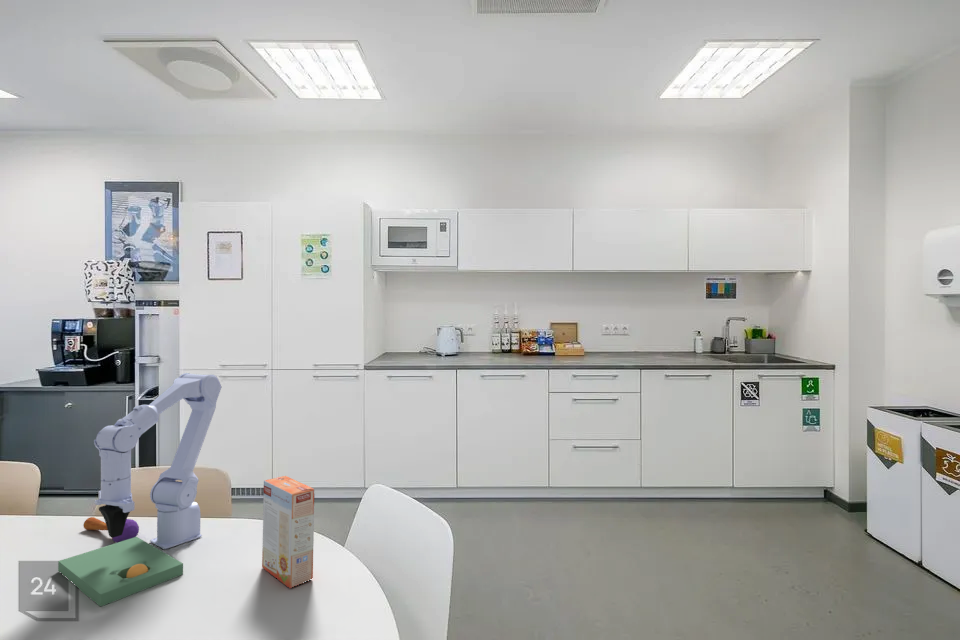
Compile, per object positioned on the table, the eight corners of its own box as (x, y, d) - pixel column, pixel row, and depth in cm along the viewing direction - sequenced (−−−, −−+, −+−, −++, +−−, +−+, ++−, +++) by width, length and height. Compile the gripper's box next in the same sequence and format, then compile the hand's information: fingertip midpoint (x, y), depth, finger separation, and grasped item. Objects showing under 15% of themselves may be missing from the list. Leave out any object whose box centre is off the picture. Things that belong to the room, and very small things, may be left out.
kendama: (104, 510, 143) (145, 518, 134) (100, 533, 142) (141, 542, 132) (80, 513, 138) (121, 522, 128) (75, 536, 136) (117, 547, 127)
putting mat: (136, 546, 129) (136, 536, 129) (183, 574, 116) (183, 563, 116) (58, 571, 116) (58, 561, 116) (100, 606, 102) (100, 594, 102)
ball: (144, 565, 115) (150, 559, 113) (145, 583, 113) (151, 577, 111) (123, 569, 112) (129, 563, 110) (124, 588, 110) (130, 583, 108)
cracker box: (314, 580, 114) (316, 487, 114) (289, 590, 110) (290, 494, 110) (285, 559, 124) (286, 474, 123) (261, 568, 119) (262, 479, 119)
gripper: (83, 475, 118) (83, 533, 118) (108, 488, 110) (108, 550, 110) (118, 468, 124) (117, 523, 124) (144, 480, 116) (144, 538, 116)
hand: (115, 535), depth 118 cm, fingers closed
